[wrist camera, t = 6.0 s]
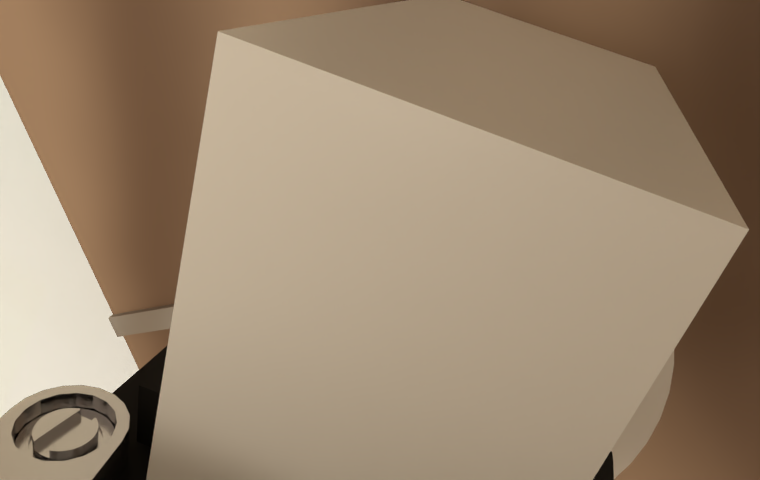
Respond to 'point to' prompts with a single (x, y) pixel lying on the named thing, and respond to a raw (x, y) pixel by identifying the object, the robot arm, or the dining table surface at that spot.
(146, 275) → the dial board
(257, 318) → the dial knob
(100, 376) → the dining table surface
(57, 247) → the dining table surface
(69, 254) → the dining table surface
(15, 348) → the dining table surface
